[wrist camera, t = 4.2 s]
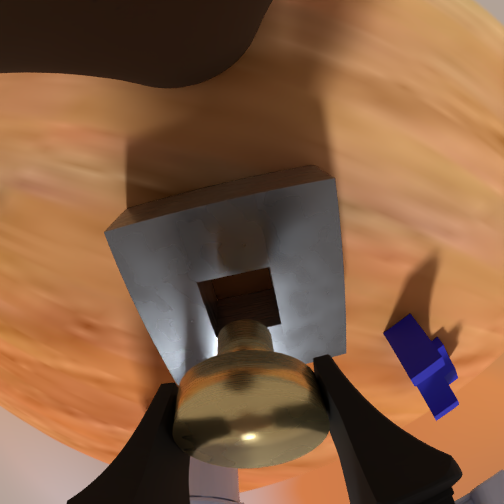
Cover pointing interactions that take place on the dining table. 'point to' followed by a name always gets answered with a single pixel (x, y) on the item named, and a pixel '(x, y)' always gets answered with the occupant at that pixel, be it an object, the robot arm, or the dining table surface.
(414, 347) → the blue angular block
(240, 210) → the block
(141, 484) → the robot arm
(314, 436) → the brass pin
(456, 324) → the dining table surface
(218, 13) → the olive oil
